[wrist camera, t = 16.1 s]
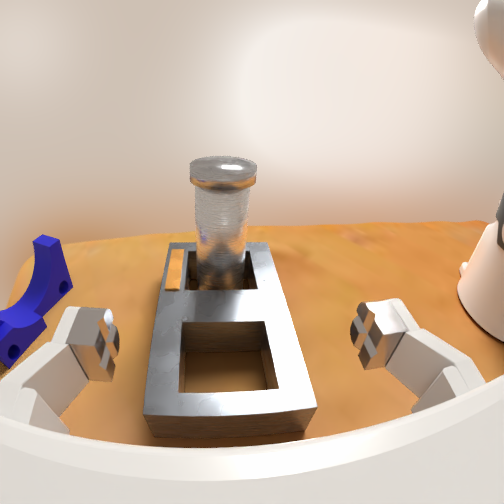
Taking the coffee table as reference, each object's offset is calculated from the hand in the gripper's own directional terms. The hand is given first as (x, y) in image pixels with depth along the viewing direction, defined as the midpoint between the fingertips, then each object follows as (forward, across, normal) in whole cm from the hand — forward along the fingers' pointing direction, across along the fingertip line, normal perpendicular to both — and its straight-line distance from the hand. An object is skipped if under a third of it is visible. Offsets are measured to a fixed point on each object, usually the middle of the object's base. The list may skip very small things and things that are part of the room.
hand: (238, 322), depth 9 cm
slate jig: (+10, 0, +12) cm, 16 cm away
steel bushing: (+15, 0, +12) cm, 20 cm away
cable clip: (+11, +19, +13) cm, 25 cm away
